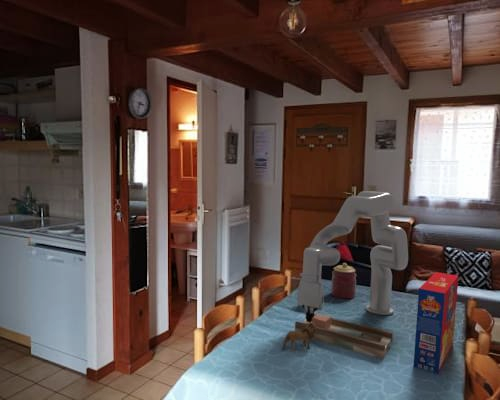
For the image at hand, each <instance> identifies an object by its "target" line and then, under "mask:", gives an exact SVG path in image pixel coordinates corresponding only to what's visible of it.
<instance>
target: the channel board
mask: <svg viewBox="0 0 500 400" xmlns="http://www.w3.org/2000/svg"><path fill="white" fill-rule="evenodd" d="M316 314H317V313H314V316H315V315H316ZM307 323H309V322H306V318H304V319H303V320H302V322H301V321H295V322H294V331H296V332H298V331H303V330H304V328H305V327H306V324H307ZM311 340H314V341H317V342H319V343H324V344H328V345H331V346H335V347H339V348H342V349H346V350H350V351H354V352H356V353H360V354H363V355H367V356H371V357H374V358H377V359H381V360H384V358H385V357H386V355H387V353H388V352H389V350H390V349H391V347H392V345H393V332H392V331H389V330H386V329H385V330H384V329H380V328H376V327H371V326H368V325H366V324H365V325H364V324H359V323H355V322H351V321H347V320H343V319H338V318H335V317H331V326H330V327H329V328H328V329H324V328H320V327H317V326H316V332H315V335H314V337H313V338H312V339H311Z"/></svg>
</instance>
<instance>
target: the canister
mask: <svg viewBox="0 0 500 400" xmlns="http://www.w3.org/2000/svg"><path fill="white" fill-rule="evenodd" d="M331 274H332V277H331V289H330V292H331V295H332V296H333V297H335V298H337V299H338V298H339V299H347V300H348V299H354V298H355V297H356V293H357V292H356V289H357V288H356V287H357V285H356V284H357V279H356V277H357V276H358V275H357V273H356V269H355V268H354V267H353V266H351V265H350V266H349V265H348V264H347V263H346V262H343V263H342V265H341V264H339V265H336V266H335V267H333V271H331Z"/></svg>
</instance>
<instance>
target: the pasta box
mask: <svg viewBox="0 0 500 400" xmlns="http://www.w3.org/2000/svg"><path fill="white" fill-rule="evenodd" d="M458 284H459V275H457V274H456V275H455V274H450V273H443V272H440V271H435V272H434V273H433V274H432V275H431V276H430V277H429V278H428V279H427V280H426V281H425V282H424V283H423V284H422V285H421V286H419V288H418V296H417V298H418V299H417V312H416V313H417V314H416V325H415V326H416V327H415V339H414V341H415V342H414V355H413V356H414V357H413V368H416V369H419V370H422V369H423V370H422V371H425V370H426V372H428V371H429V373H432V372H433V374H435V373H436V374H435V375H438V374H440V373H441V371H442V369H443V367H442V366H444V365H443V364H445V363H444V362H446V361H447V359H446V358H448V356H449V354H450V353H451V351H452V348H453V346H454V336H455V325H456V323H455V322H456V313H457V311H456V310H457V300H458V289H459V288H458ZM445 360H446V361H445ZM441 368H442V369H441ZM440 370H441V371H440ZM439 372H440V373H439Z"/></svg>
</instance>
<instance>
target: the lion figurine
mask: <svg viewBox="0 0 500 400" xmlns="http://www.w3.org/2000/svg"><path fill="white" fill-rule="evenodd" d="M315 332H316V325H315V323H313V322H309V323H307V324H306V327H305V328H304V330H303V331H298V332H296V331H295V330H291V331H288V332H287V333H286V335H285V337H284V341H283V345H282V348H281V350H282V351H284V350H285V349H286V348H287V347H288V346H287V343H288V342H290V348H291V350H292V351H294V352H296V351H297V349H296V348H295V347H294V345H295V343H296V341H297V342H302V347H306V348H307V349H308V350H310V349H311V346H310V343H311V340H313V339H312V338H313V337H314V335H315Z"/></svg>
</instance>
